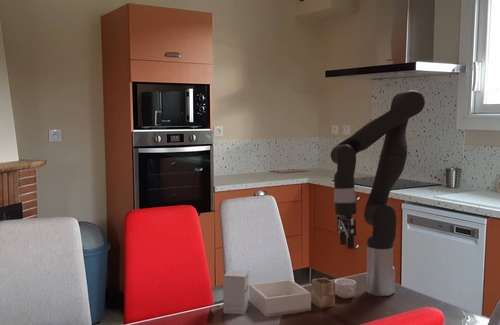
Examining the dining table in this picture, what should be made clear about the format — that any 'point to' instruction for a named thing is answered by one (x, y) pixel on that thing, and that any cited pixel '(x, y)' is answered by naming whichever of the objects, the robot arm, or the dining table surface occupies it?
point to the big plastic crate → (279, 298)
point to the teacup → (345, 287)
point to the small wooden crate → (323, 292)
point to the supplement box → (235, 292)
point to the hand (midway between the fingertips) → (346, 246)
